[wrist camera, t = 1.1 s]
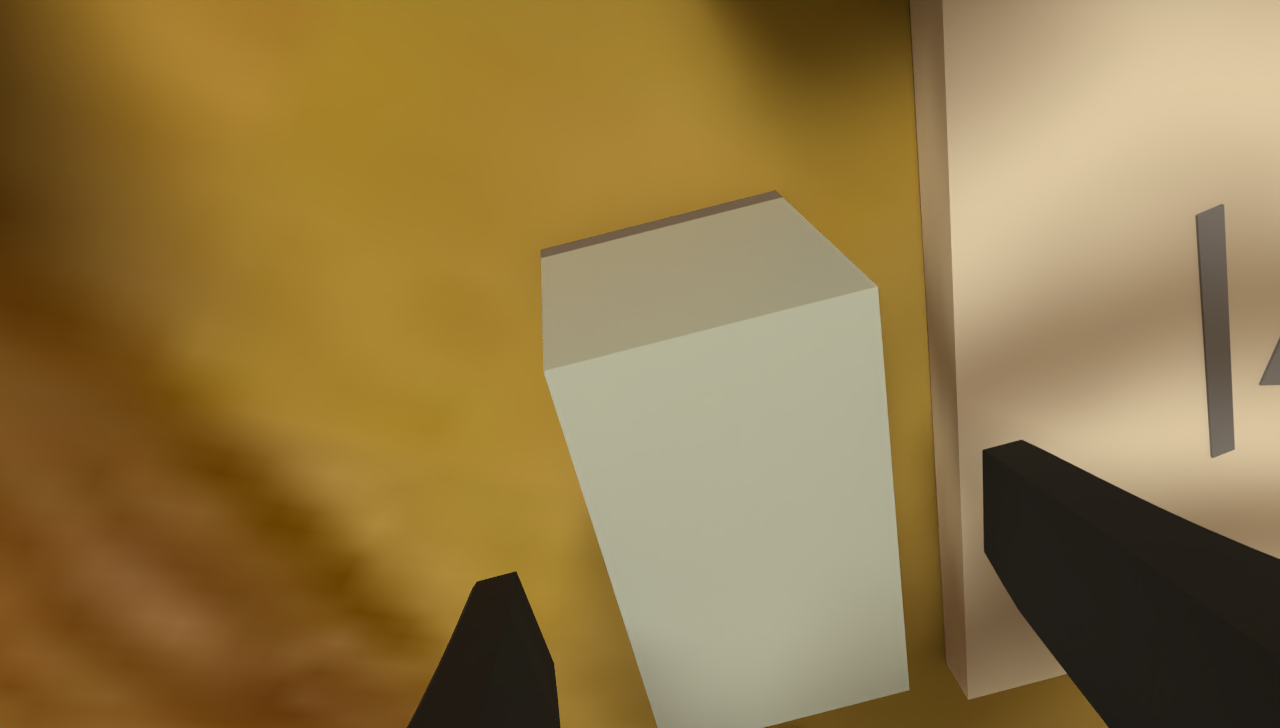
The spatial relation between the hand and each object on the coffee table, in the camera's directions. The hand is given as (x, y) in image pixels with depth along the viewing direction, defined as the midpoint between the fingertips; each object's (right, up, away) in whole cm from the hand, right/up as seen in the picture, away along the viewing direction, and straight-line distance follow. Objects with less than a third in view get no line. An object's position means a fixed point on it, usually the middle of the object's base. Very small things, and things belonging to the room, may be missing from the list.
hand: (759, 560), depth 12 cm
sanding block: (-1, +2, +5) cm, 5 cm away
